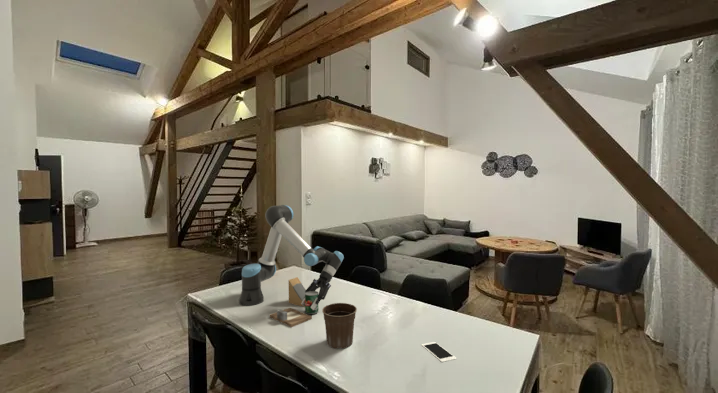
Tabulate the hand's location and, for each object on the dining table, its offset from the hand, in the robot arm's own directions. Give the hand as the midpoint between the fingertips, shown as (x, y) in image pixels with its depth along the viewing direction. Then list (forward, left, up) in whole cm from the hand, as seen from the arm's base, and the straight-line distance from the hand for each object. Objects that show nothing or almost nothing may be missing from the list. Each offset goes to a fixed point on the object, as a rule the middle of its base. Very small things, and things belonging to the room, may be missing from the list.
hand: (307, 306), depth 181 cm
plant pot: (+38, -13, -5) cm, 40 cm away
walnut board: (-3, -10, -4) cm, 11 cm away
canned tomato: (0, +3, -4) cm, 5 cm away
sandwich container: (-17, +10, -5) cm, 20 cm away
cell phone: (+77, +10, -5) cm, 78 cm away
